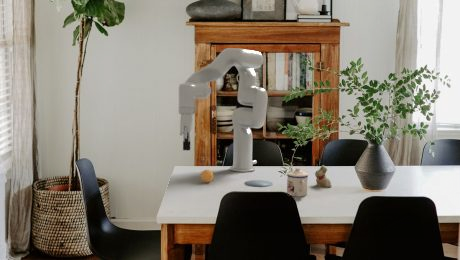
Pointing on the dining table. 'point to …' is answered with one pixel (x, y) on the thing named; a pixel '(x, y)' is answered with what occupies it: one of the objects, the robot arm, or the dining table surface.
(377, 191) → the dining table surface
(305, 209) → the dining table surface
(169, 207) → the dining table surface
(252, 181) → the disc
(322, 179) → the chocolate bunny
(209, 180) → the ball
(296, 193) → the teacup with lid
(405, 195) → the dining table surface
